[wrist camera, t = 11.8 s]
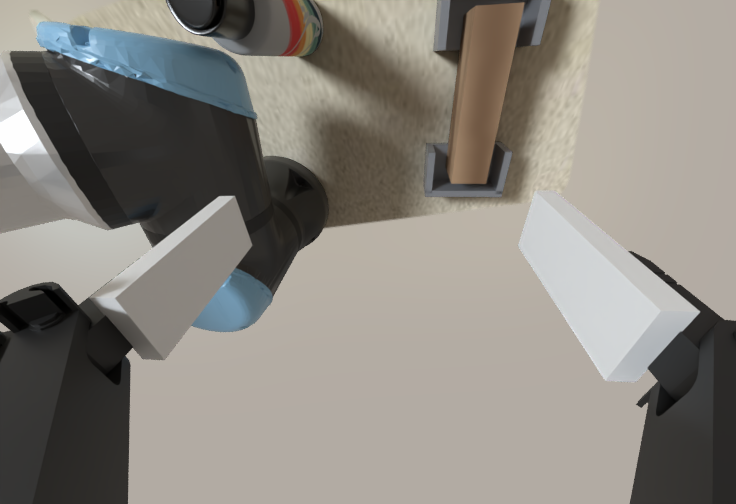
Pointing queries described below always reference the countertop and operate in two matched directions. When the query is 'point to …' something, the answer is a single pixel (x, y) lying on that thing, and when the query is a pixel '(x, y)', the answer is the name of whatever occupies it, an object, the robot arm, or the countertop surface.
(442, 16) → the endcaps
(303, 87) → the countertop surface
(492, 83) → the slat
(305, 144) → the countertop surface
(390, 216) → the countertop surface
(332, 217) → the countertop surface
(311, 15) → the lotion bottle
